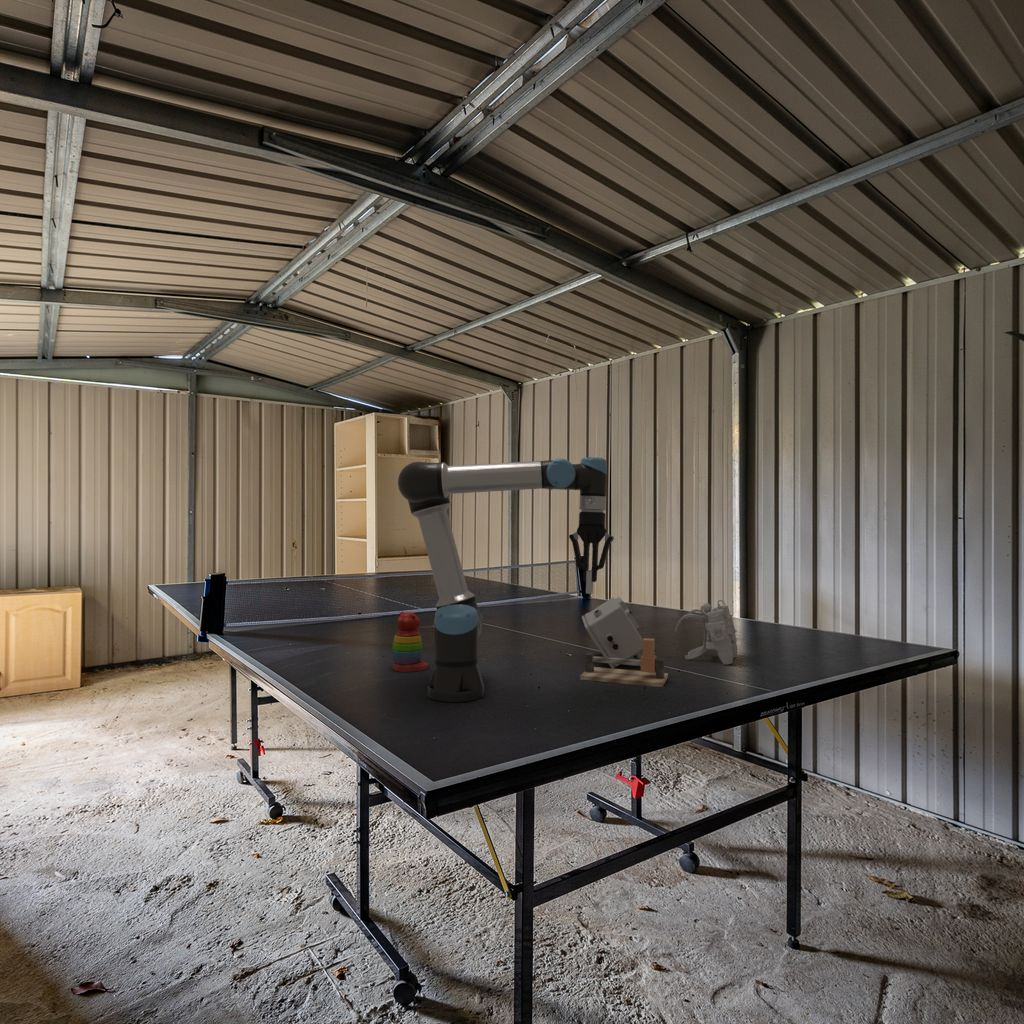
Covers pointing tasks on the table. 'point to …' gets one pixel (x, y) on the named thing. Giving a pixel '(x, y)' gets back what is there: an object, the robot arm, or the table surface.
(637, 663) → the rail board
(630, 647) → the junction box
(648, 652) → the brown stepped block
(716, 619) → the twin engine backpack
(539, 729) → the table surface
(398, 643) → the red rounded piece
